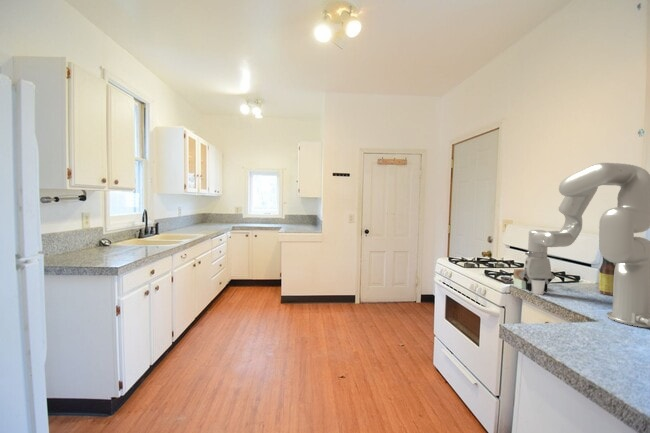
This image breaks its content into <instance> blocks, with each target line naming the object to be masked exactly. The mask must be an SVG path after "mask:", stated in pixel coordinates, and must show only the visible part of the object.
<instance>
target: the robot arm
mask: <svg viewBox="0 0 650 433" xmlns="http://www.w3.org/2000/svg"><path fill="white" fill-rule="evenodd" d="M600 186H617V187H620V190H619V191H618V193H617V198H616V199H617V207H611V208H609V209H606V211H604V212H603V213H602V215H601V216H600V219H599V222H598V223H599V226H598V229H599V231H598V247H599V252H600V255H601V257H602V256H603V257H604V258H605V259H606V260H608V261H610V262H612V263H614V264H615V270H614V283H613V296H612V311H608V312H606V317H607V318H608V317H609V318H608V319H610V320H611V321H614V320H615V321H614V322H616V323H621V324H623V323H624V324H623V325H627V324H628V326H632V325H633V327H637V326H638V327H637V328H647V329H649V328H650V240H649V239H647V238H645V237H640V236H634V235H635V234H638V233H644V232H646V231H648V230H649V229H650V173H649V172H648V170H646V169H645V168H643V167H641V166H637V165H634V164H627V163H617V162H600V163H595V164H593V165H591V166H588V167H586V168H583V169H582V170H580V171H578V172H576V173H573V174H571V175H569V176H568V177H566V178H564V179H563V180H562V181H561V182H560V183H559V185H558V192H559V193H560V194H561V195H562V196H563V197H564V198H562V201H561V203H560V205H559V206H558V211H559V212H560V213H561V214H563V215H564V219H565V220H564V224H563V225H562V228H561V229H560V230H543V229H542V230H541V229H531V230H529V231H528V246H527V248H528V251H526V252H525V253H524V254H525V255H526V258H525V262H524V267H523V269H524V271H522V272H521V273H520V274H519V276H520V277H521V278H522V279H523V280H524V281H525V282H526V289H525V290H526V291H528V292H529V291H531V283H530V282H531V279H532V278H535V279H544V280H545V287H544V293H547V291H548V286H549V284H550V282H552V281H553V280H554V279H555V278H556V276H555V275H554V274H553V273H552V265H551V261H550V258H548V248H560V247H561V248H564V247H569V246H571V245H573V244H574V243H575V241H577V238H578V237H579V235H580V234H581V231H582V229H583V215H584V213H585V211H586V210H587V207H588V206H589V205H590V202H591V201H592V199H593V197H594V196H595V194H596V192H597V191H598V188H599V187H600ZM603 257H602V258H603ZM524 275H525V276H527V277H526V278H525V277H524ZM528 278H529V279H528Z"/></svg>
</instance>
